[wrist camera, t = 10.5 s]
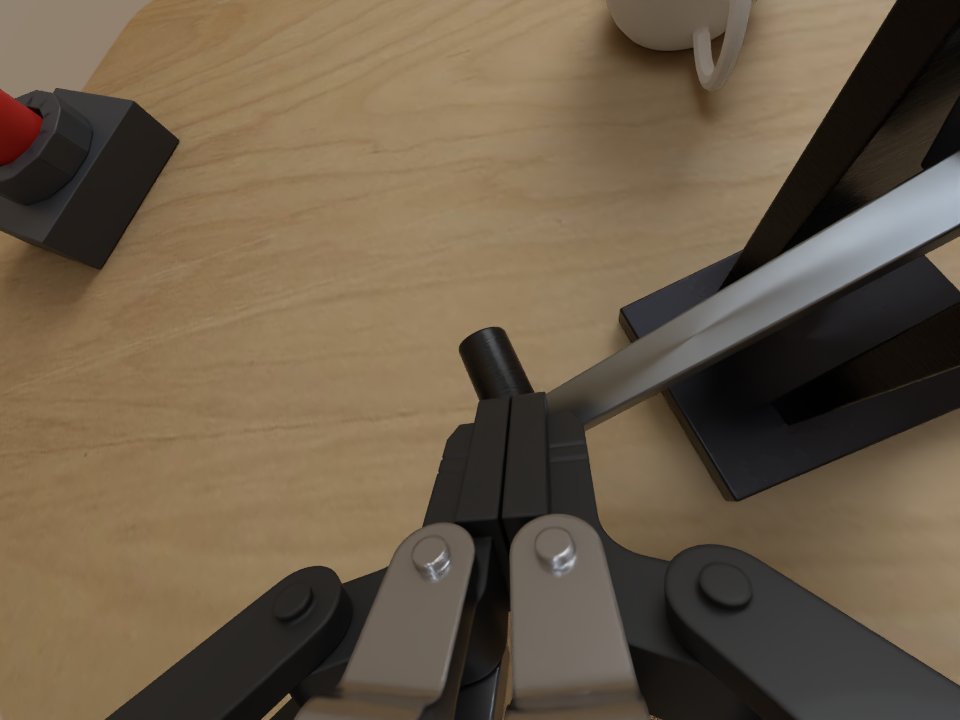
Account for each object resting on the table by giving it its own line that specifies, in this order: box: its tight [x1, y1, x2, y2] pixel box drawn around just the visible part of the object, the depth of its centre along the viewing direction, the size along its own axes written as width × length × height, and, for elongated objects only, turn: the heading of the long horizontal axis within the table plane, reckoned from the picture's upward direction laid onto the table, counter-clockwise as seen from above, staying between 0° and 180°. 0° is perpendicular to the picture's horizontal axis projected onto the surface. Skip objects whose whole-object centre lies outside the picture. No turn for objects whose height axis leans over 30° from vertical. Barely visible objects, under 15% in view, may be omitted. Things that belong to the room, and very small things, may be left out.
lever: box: [459, 95, 960, 432], centre depth 9 cm, size 13×6×2 cm, turn 113°
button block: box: [0, 88, 179, 269], centre depth 27 cm, size 10×8×5 cm
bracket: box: [619, 0, 960, 501], centre depth 11 cm, size 10×8×13 cm
